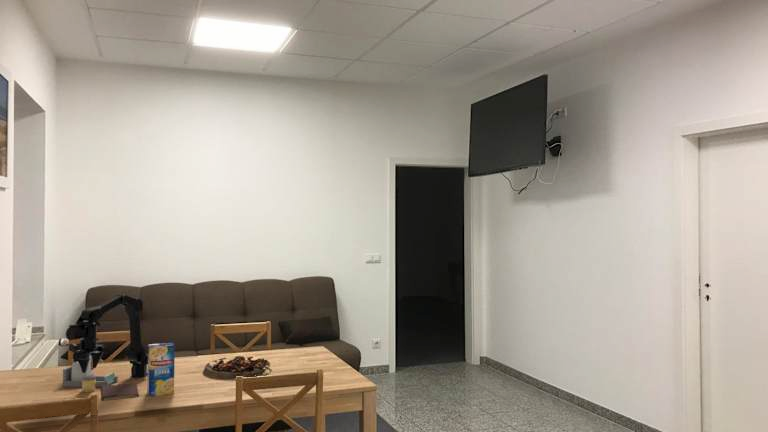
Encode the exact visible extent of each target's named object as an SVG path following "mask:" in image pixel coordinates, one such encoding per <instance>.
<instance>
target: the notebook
mask: <svg viewBox="0 0 768 432" xmlns="http://www.w3.org/2000/svg"><path fill="white" fill-rule="evenodd" d="M139 396H140V395H139V391H138V385H137V383H136V382H134V383H124V384H123V383H122V384H116V385H115V384H109V385H107V386H102V387H101V401H107V400H114V399H115V400H116V399H124V398H125V399H126V398H135V397H139Z"/></svg>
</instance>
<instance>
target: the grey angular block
mask: <svg viewBox="0 0 768 432" xmlns="http://www.w3.org/2000/svg"><path fill="white" fill-rule="evenodd" d="M71 366H72V372H71V381H82V377H84V376H88V366H87V369H86V372H85V373H83V372H82V370H81V367H80V364H79V363H77V362H73V363H71Z"/></svg>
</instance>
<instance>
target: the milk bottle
mask: <svg viewBox="0 0 768 432" xmlns="http://www.w3.org/2000/svg"><path fill="white" fill-rule="evenodd" d="M82 339H83V338H80V340H82ZM78 351H80V350H78ZM89 358H90V360H89V363H88V376H89V375H94V373H95V368H93V362H92V356H91V355H90V356H89ZM76 363H79V362H78V361H76Z"/></svg>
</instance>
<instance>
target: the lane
mask: <svg viewBox="0 0 768 432" xmlns="http://www.w3.org/2000/svg"><path fill="white" fill-rule="evenodd" d="M71 372H72V365H71V366H69V367H66V368H64V369H62V387H63V388H65V387H69V388H70V387H71V388H72V387H76V388H80V387H81V388H82V381H71ZM95 376H96V388H102V386H107V385H108V381H104V376H105V375H95ZM118 378H119V376H118V375H117V376H116V375H114V382H113V383H117V382H118V381H119V380H118Z"/></svg>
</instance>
